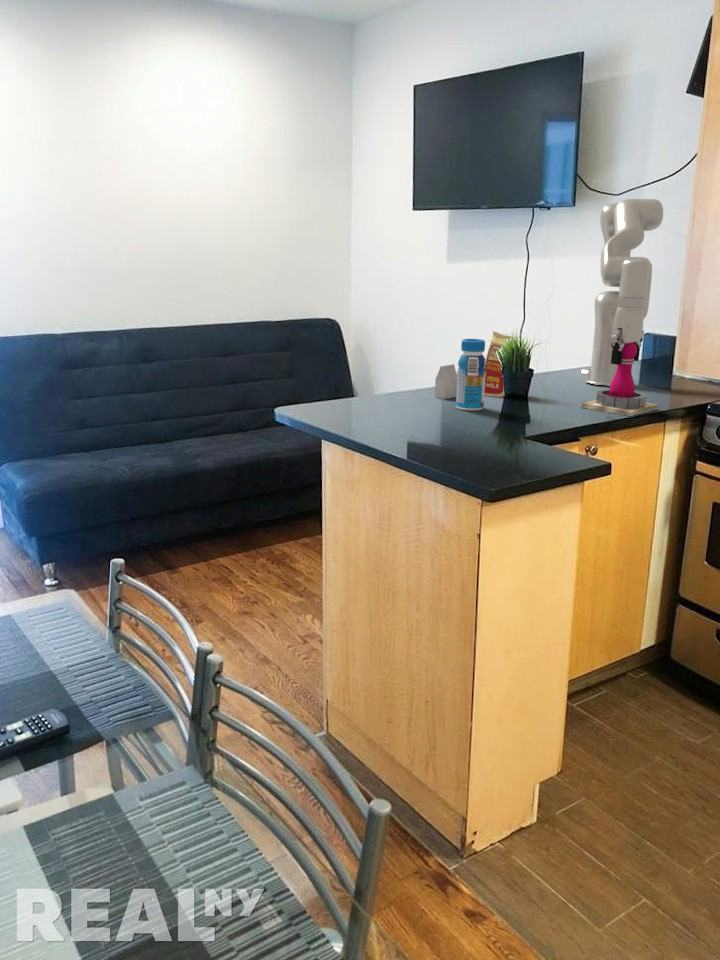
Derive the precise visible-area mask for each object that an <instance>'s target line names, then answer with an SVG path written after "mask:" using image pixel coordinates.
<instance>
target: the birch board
mask: <svg viewBox="0 0 720 960" xmlns="http://www.w3.org/2000/svg"><path fill="white" fill-rule="evenodd" d="M657 407H658V408H659V404H656V403H650V402H646V404H645V407H642V408H637V409H623V408H612V407H606V406H602V405H599V404H596V399H594V400H590V401H586V402H585V401H584V402H582V403H581V408H582V409H585V408H587V409H586V410H590V409H593V410H592V411H596V410H600V411H599V412H601V411H605V412H604V413H607V412H612V413H618V414H624V415H630V416H631V415H635V414H638V413H641V412H644V411H648V410H651V409H654V408H657ZM612 413H611V414H612ZM618 414H617V415H618Z"/></svg>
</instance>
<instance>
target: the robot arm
mask: <svg viewBox="0 0 720 960" xmlns="http://www.w3.org/2000/svg"><path fill="white" fill-rule="evenodd" d="M599 216H600V218H599V219H600V220H599V221H600V229H601V233H602V237H603V241H604V246H603V248H602V250H601V255H600V274H601V275H600V276H601V280H602V284H604V285H605V286H606V287H612V288H619V290H607V291H603V292H599V293H598V294H597V296H596V297H595V299H594V335H593V343H592V344H593V346H592V355H591V356H592V357H591V364H590V365H591V366H590V369H585V368H583V369H581V373H580V374H581V376H586V378H585V379H584V380H585V381H584V383H585V382H587V383H590V384H595V385H610V384H611V382H612V380H613V378H614V376H615V374H616V371H617V365H621V364H622V356H623V351H622V349H623V347H624V345H625V344H629V343H634V344H635V345H636V347H637V353H636V355H635V356H634V357H633V359H634V362H638V361H640V360H639V358H640V350H641V347H642V342H643V338H644V335H645V330H644V329H643V328H644V320H645V318H646V317H647V315H648V312H649V305H650V295H651V289H652V288H651V287H652V277H653V264H652V263H651V260H650V259H649V258H648V257H645V256H644V257H643V256H631V252H632V250H634V249H636V248H638V247H639V246H641V244H642V243H643V241H644V240H645V232H651V231H653V230H657V229H658V228H659V227H660V226H661V225H662V222H663V219H664V207H663V204H662V202H661V201H660V200H658V199H653V198H652V199H651V198H626V199H622V200H621V201H619V202H615V203H614V202H613V203H609V204H606V205H604V206H603V207H602V209H601V211H600V215H599ZM619 344H620V346H619ZM587 383H586V384H587ZM590 384H589V385H590ZM595 385H594V386H595Z"/></svg>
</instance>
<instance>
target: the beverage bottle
mask: <svg viewBox="0 0 720 960" xmlns="http://www.w3.org/2000/svg"><path fill="white" fill-rule="evenodd" d="M460 347H461V352H463V353H462V354H461V355H460V357H459V359H458V362H457V365H458V368H457V371H456V373H457V396H456V397H455V398H456V399H455V407H456V409H458V410H462V411H471V412H472V411H473V412H474V411H480V410H483V409H484V407H485V396H484V390H485V377H486V370H485V366H486V357H485V356H484V353H485V351H486V348H485V347H486V340H484V339H479V338H463V339H461V346H460Z"/></svg>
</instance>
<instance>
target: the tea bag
mask: <svg viewBox="0 0 720 960" xmlns="http://www.w3.org/2000/svg"><path fill="white" fill-rule="evenodd" d="M434 380H435V386H434V398H435V399H442V400H446V399H452V398H456V396H457V371H456V367H455V364H446V365H440V366H439V370H438V372H437V374H436V377H435V379H434Z"/></svg>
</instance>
